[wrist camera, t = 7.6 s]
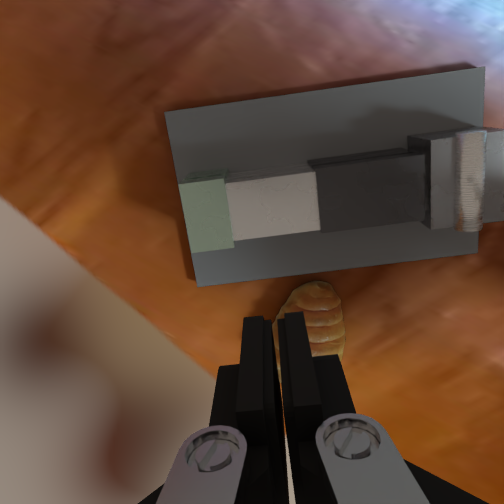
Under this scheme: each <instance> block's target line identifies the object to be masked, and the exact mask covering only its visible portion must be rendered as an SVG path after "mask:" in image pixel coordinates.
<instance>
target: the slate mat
mask: <svg viewBox="0 0 504 504" xmlns="http://www.w3.org/2000/svg"><path fill="white" fill-rule="evenodd" d="M484 86H485V67H478V68H471V69H464V70H457V71H450V72H443V73H436V74H429V75H422V76H415V77H408V78H401V79H394V80H387V81H380V82H373V83H366V84H358V85H351V86H344V87H337V88H330V89H323V90H316V91H309V92H302V93H295V94H288V95H281V96H274V97H267V98H260V99H253V100H246V101H239V102H232V103H224V104H217V105H210V106H203V107H196V108H189V109H182V110H175V111H168V112H164V114H165V119H166V124H167V129H168V135H169V140H170V145H171V150H172V156H173V161H174V166H175V171H176V177H177V182H178V184H179V183H180V182H181V181H182V180H183V179H184V178H185V177H186V176H187V175H188V174H189V173H194V172H201V171H209V170H216V169H224V168H228V171H229V173H234V172H241V171H249V170H256V169H264V168H271V167H279V166H286V165H293V164H301V163H307V160H311V159H318V158H326V157H333V156H340V155H348V154H355V153H363V152H370V151H378V150H385V149H393V148H400V147H401V148H404V149H407V135H415V134H422V133H429V132H437V131H444V130H452V129H459V128H466V127H474V126H479V127H483V111H484ZM178 187H179V185H178ZM179 192H180V190H179ZM180 198H181V196H180ZM181 203H182V201H181ZM182 208H183V206H182ZM183 213H184V211H183ZM184 219H185V217H184ZM185 224H186V222H185ZM186 229H187V227H186ZM187 234H188V232H187ZM478 237H479V231H475V232H461V231H456V230H454V229H453V227H449V228H441V229H433V230H430V229H429V228H428V227H426V226H425V225H423V224H422V223H421V222H419V221H415V222H407V223H399V224H392V225H384V226H376V227H368V228H360V229H352V230H344V231H337V232H329V233H321V232H320V230H315V231H308V232H300V233H292V234H284V235H276V236H268V237H261V238H253V239H245V240H237V241H235V247H234V248H228V249H221V250H213V251H205V252H197V253H191V255H192V261H193V266H194V271H195V277H196V282H197V287H202V286H211V285H219V284H227V283H235V282H244V281H252V280H260V279H268V278H276V277H285V276H293V275H301V274H309V273H318V272H326V271H334V270H342V269H350V268H359V267H367V266H375V265H383V264H392V263H400V262H408V261H416V260H424V259H433V258H441V257H449V256H457V255H466V254H474V253H478ZM188 240H189V238H188ZM189 245H190V243H189ZM190 250H191V248H190Z"/></svg>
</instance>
